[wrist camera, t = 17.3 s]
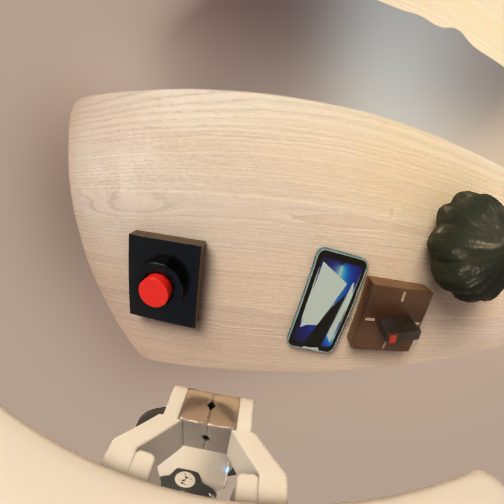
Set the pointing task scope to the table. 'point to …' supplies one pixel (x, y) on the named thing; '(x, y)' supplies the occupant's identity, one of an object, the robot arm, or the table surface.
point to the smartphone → (327, 300)
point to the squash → (469, 247)
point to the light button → (155, 290)
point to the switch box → (167, 275)
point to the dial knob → (398, 329)
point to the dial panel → (386, 311)
